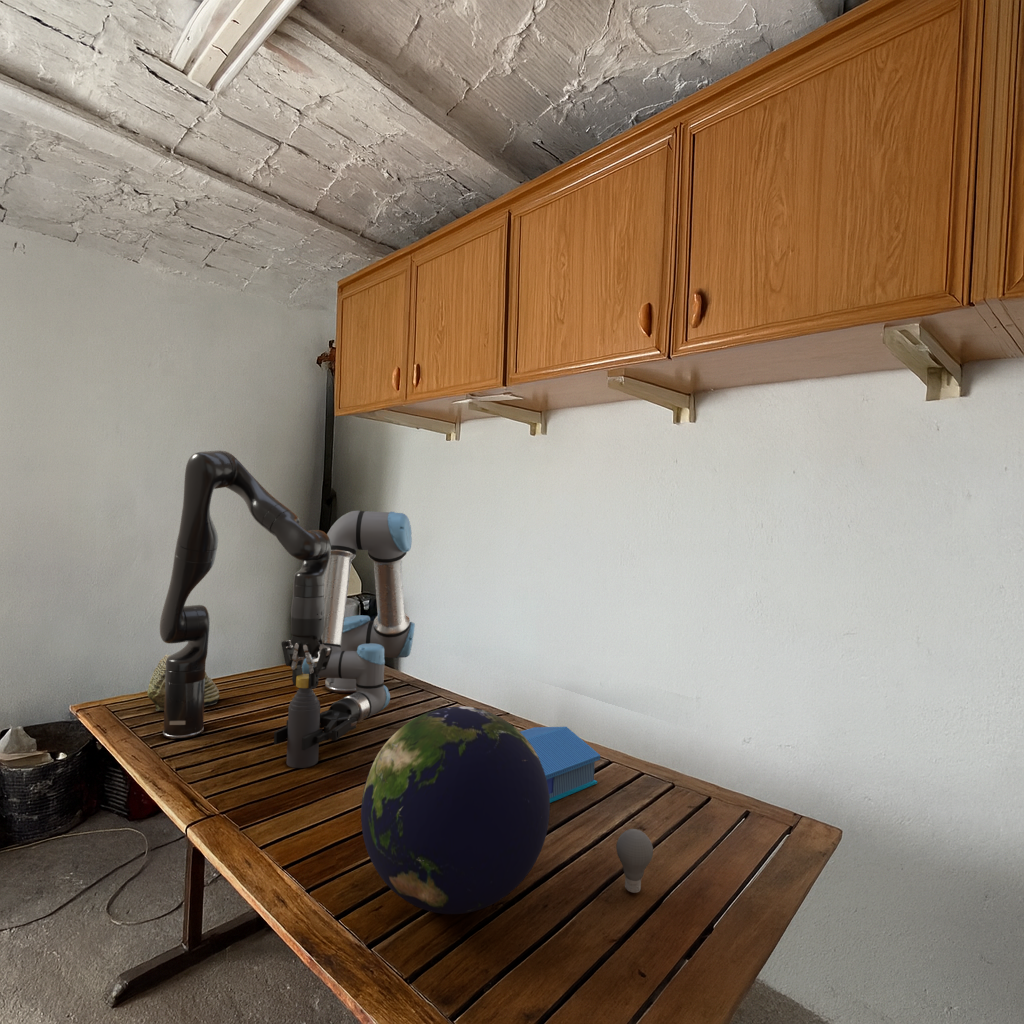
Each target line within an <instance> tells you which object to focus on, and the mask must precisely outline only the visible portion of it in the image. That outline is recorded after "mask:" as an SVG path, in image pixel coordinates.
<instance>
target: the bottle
mask: <svg viewBox="0 0 1024 1024" xmlns="http://www.w3.org/2000/svg"><path fill="white" fill-rule="evenodd" d="M316 695H317V694H316V693H315V692H314V689H309V688H298V690H296V693H295V694H294V697H292V699H291V701H290V702H289V705H288V713H287V720H288V736H287V739H286V765H287V766H288V767H290V768H293V769H305V768H310V767H313V766H315V765H316V764H318V762H319V753H320V751H319V749H320V743H317V744H315V745H313V746H311V747H310V748H308V749H306V750H302V738H303V737H305V736H307V735H309V734H311V733H313V732H315V731H317V730H319V729H321V728H320V713H321V703H320V699H319V698H318V696H316Z"/></svg>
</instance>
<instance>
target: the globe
mask: <svg viewBox="0 0 1024 1024" xmlns="http://www.w3.org/2000/svg"><path fill="white" fill-rule="evenodd" d="M462 706H463V707H458V706H448V707H442V708H436V709H434V710H431V711H427V712H424V713H422V714H420V715H419V716H417V717H415V718H413V719H411V720H410V721H408V722H407V723H405V724H404V725H402V727H400V728H398V730H397V731H396V732H394V734H392V736H391V737H390V738H388V740H387V741H386V742H385V743H384V745H383V746H382V747H381V748H380V750H379V752H378V753H377V755H376V757H375V759H374V760H373V763H372V765H371V767H370V769H369V772H368V773H367V777H366V780H365V784H364V787H363V790H362V791H363V792H362V796H361V797H362V798H361V807H360V819H361V821H360V823H361V831H362V836H363V837H362V838H363V841H364V842H363V843H364V845H365V849H366V852H367V854H368V857H369V859H370V861H371V864H372V865H373V867H374V869H375V870H376V872H377V874H378V875H379V877H380V878H381V879H382V880H383V882H384V883H385V884H386V885H387V887H389V889H390V890H392V891H393V892H394V893H395V894H396V895H397V896H398V897H400V898H401V899H402V900H404V901H405V902H407V903H409V904H410V905H412V906H414V907H417V908H419V909H421V910H423V911H428V912H430V913H436V914H441V915H463V914H468V913H474V912H477V911H481V910H483V909H486V908H488V907H490V906H492V905H494V904H496V903H499V901H501V900H502V899H504V898H505V897H507V896H508V895H509V894H511V893H512V892H513V891H514V890H515V889H516V888H517V887H518V886H519V885H520V884H522V882H524V879H525V878H526V877H527V876H528V875H529V873H530V872H531V870H532V869H533V867H534V865H535V864H536V862H537V860H538V858H539V856H540V854H541V852H542V849H543V847H544V844H545V842H546V838H547V833H548V828H549V825H550V824H549V823H550V814H551V803H550V798H549V789H548V784H547V780H546V776H545V773H544V770H543V767H542V765H541V762H540V759H539V757H538V755H537V754H536V752H535V750H534V749H533V747H532V745H531V744H530V743H529V742H528V740H527V739H526V738H525V737H524V736H523V735H522V734H521V733H520V731H519V730H518V729H517V728H516V727H515V726H514V725H513V724H511V723H510V722H508V721H507V720H506V719H504V718H502V717H500V716H499V715H496V714H494V713H492V712H489V711H487V710H484V709H481V708H477V707H473V706H464V705H462Z"/></svg>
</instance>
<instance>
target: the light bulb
mask: <svg viewBox="0 0 1024 1024" xmlns="http://www.w3.org/2000/svg"><path fill="white" fill-rule="evenodd" d="M615 849H616V854H617V857H618V859H619V861H620V863H621V865H622V867H623V873H624V874H623V875H624V876H625V878H624V888H625V890H627V891H628V892H630V893H634V894H635V893H639V892H640V891H641V889H642V887H641V886H642V879H643V877H644V875H645V871H646V868H647V867H648V866H649V864H650V863H651V861H652V859H653V855H654V847H653V843H652V841H651V838H649V836H648V835H647V834H646V833H645V832H643V831H642V830H641V829H636V828H629V829H627V830H625V831H623V832H622V833H621V834H620V835H619V837H618V839H617V841H616V847H615Z"/></svg>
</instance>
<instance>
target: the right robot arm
mask: <svg viewBox="0 0 1024 1024" xmlns="http://www.w3.org/2000/svg"><path fill="white" fill-rule="evenodd" d="M412 533H413V532H412V526H411V521H410V519H409V517H408V516H407V515H406V514H405V513H403V512H395V511H371V510H369V511H368V510H351V511H349V512H347V513H344V514H343V515H341V516H340V517H339V518H338V519H337V520H336V521H335V522H334V523H333V524H332V525H331V527H330V529H329V530H328V531H327V533H326V534H327V535H328V537H329V539H330V543H331V554H330V559H329V563H328V567H327V571H326V574H325V577H324V603H325V611H324V632H323V634H322V641H323V644H324V645H325V646H327V647H329V646H331V647H332V653H331V656H330V659H329V662H328V665H327V668H326V669H325V670H322V671H320V672H319V679H325V682H324V683H325V684H324V686H325V687H324V688H325V689H326V690H327V691H329V692H332V693H337V694H350V695H347V696H345V697H342V698H341V699H339V700H336V701H334V702H333V703H332V704H331V705H330V707H329V708H328V709H327V710H323V711H321V712H320V729H319V730H317V731H315V732H313V733H311V734H309V735H307V736H305V737H303V738H302V750H306V749H308V748H310V747H311V746H313V745H315V744H317V743H319V744H320V743H322V742H323V741H329V740H331V741H333V742H336V741H337V740H339V739H341V738H342V737H343V736H345V735H346V734H347V733H349V732H350V731H353V730H355V729H357V724H358V723H360V722H362V721H364V720H366V719H368V718H370V717H372V716H374V715H376V714H378V713H380V712H381V711H383V710H384V709H385V708H387V706H388V705H389V704H390V701H391V694H390V691H389V688H388V687H387V686H386V685H385V683H384V682H385V681H384V680H385V664H386V660H385V658H390V659H391V658H393V659H399V658H400V659H401V658H407V657H409V656H410V655H411V653H412V652H411V651H412V646H413V642H414V635H415V628H416V624H415V622H413V621H410V617H409V615H408V614H407V613H405V592H404V571H403V559H404V558H405V557H406V556H407V554H408V552H410V551H411V548H412V543H413V538H412ZM358 550H359V551H367V556H368V558H369V559H370V560H371V561H373V567H374V568H373V570H374V571H373V572H374V582H375V583H374V585H375V598H376V609H377V611H376V612H377V615H376V616H375V618H374V620H371V617H370V616H369V615H363V614H362V615H361V614H360V615H351V616H346V609H347V601H348V592H349V584H350V577H351V576H350V575H351V569H352V561H353V560H354V559H355V558H356V556H357V551H358ZM319 652H320V650H319ZM312 659H314V657H312ZM314 667H315V664H314ZM301 668H302V674H309V673H310V670H309V665H308V664H307V662H306V658H305V659H304V661H303V665H302V667H301ZM287 736H288V719H286V724H285V726H284V727H282V728H280V729H278V730H275V731H274V732H273V744H274V745H277V744H280V743H282V742H284V741H287Z"/></svg>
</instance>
